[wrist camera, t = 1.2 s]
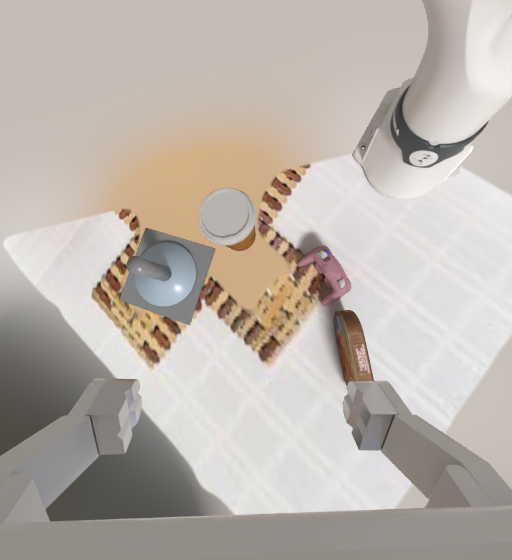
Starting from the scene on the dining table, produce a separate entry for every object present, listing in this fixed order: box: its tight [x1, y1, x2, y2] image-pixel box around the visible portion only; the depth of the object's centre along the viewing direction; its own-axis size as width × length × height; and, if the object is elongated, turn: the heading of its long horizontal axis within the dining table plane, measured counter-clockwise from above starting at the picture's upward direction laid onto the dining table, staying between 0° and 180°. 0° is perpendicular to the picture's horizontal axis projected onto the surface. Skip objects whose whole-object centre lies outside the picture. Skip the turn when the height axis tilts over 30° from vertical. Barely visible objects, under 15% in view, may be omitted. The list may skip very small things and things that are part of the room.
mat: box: [119, 228, 215, 325], centre depth 54 cm, size 16×16×1 cm
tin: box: [334, 310, 374, 385], centre depth 44 cm, size 15×3×8 cm, turn 9°
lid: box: [127, 242, 197, 306], centre depth 49 cm, size 13×13×11 cm
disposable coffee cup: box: [199, 188, 256, 251], centre depth 47 cm, size 10×10×12 cm
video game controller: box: [297, 246, 351, 305], centre depth 47 cm, size 10×5×7 cm, turn 30°
